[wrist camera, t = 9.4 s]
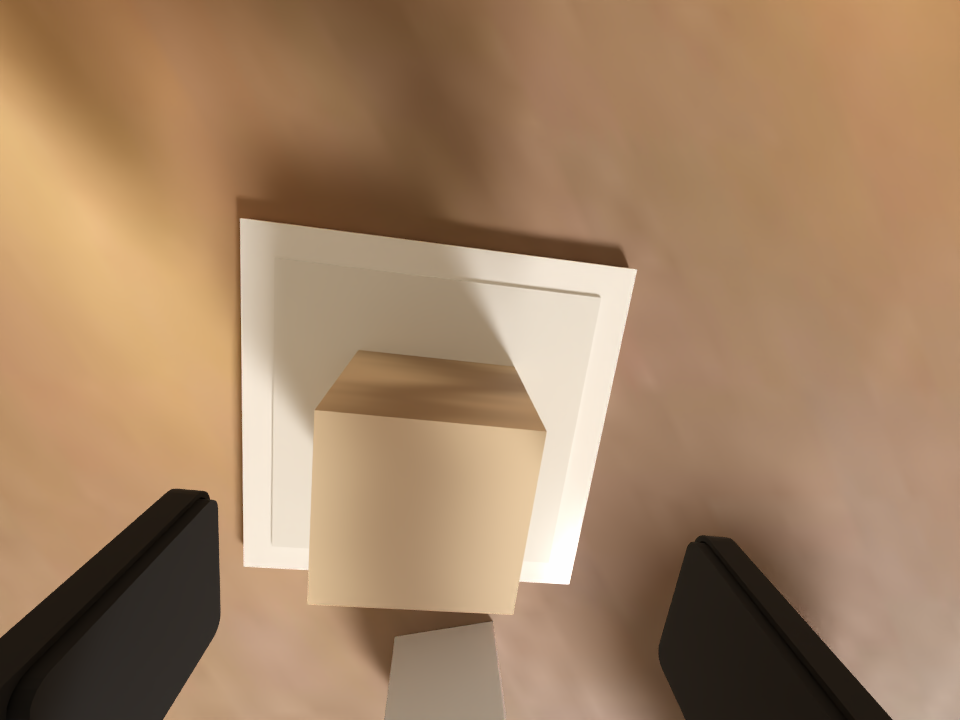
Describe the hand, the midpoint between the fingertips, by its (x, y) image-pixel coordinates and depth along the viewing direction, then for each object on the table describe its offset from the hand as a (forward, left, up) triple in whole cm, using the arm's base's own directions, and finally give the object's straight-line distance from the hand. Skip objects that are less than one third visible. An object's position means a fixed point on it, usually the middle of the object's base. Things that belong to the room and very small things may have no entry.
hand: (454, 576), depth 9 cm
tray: (+1, 0, -7) cm, 7 cm away
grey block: (-1, +11, -7) cm, 13 cm away
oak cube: (+1, 0, -7) cm, 7 cm away
